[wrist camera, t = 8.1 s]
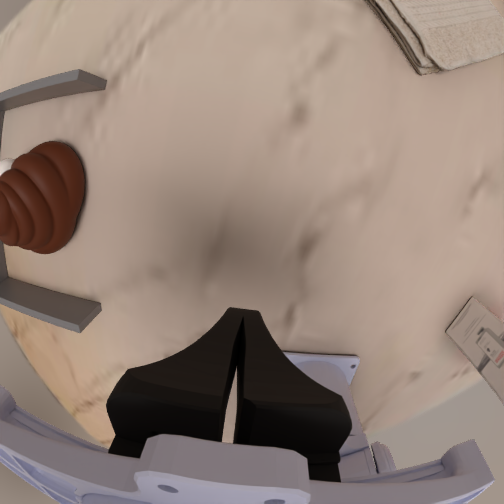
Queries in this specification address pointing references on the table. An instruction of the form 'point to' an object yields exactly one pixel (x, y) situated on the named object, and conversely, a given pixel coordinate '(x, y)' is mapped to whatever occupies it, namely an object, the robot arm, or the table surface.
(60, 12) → the table surface
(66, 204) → the poop emoji
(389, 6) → the washcloth
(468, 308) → the ink box
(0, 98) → the bin
